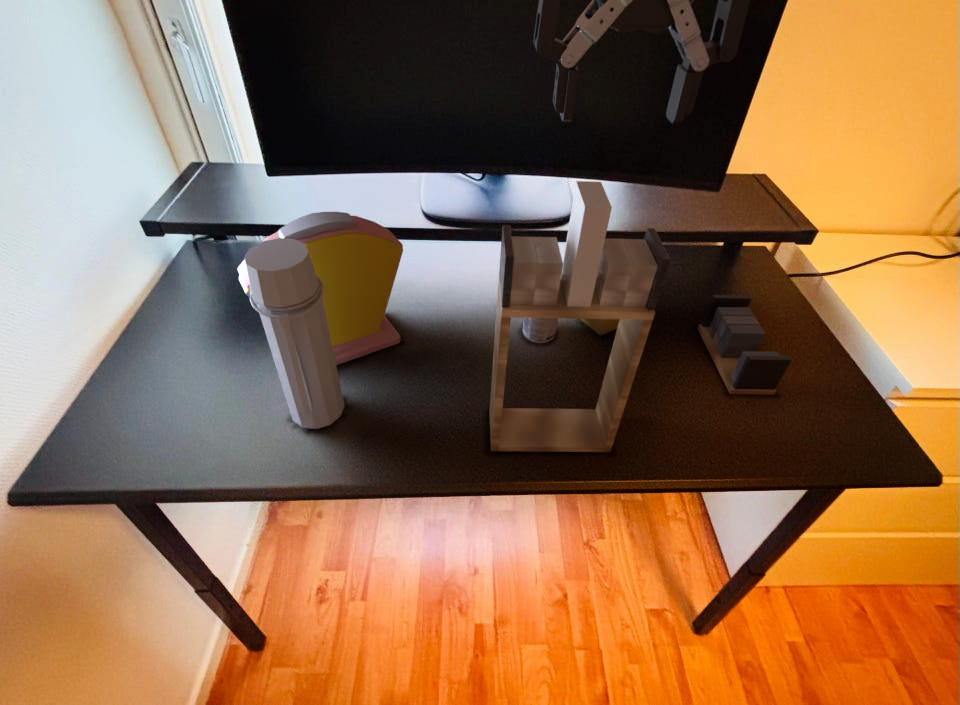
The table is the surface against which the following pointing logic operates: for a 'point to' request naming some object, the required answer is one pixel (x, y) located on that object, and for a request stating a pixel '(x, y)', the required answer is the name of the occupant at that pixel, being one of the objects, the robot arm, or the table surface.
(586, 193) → the white book
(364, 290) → the yellow napkin holder
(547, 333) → the energy drink
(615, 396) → the birch stand
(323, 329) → the water bottle
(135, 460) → the table surface
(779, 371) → the grey rack
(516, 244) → the wooden book holder
